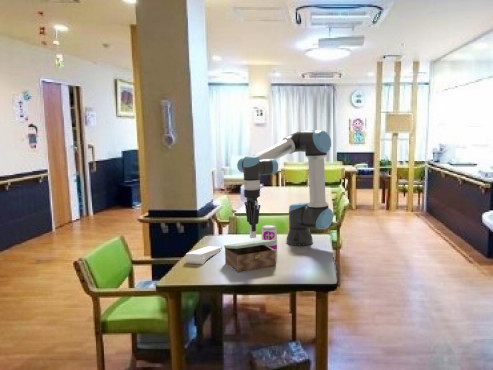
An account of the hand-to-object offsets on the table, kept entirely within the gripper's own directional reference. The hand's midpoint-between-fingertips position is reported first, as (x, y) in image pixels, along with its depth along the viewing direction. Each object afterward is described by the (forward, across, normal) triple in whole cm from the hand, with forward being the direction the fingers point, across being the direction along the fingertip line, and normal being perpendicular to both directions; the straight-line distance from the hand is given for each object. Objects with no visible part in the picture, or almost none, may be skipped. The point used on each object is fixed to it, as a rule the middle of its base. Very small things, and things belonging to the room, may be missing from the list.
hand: (252, 237), depth 209 cm
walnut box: (+15, -4, 0) cm, 15 cm away
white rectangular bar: (+15, -29, -15) cm, 36 cm away
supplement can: (+15, -16, +17) cm, 28 cm away
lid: (+5, -4, 0) cm, 6 cm away
